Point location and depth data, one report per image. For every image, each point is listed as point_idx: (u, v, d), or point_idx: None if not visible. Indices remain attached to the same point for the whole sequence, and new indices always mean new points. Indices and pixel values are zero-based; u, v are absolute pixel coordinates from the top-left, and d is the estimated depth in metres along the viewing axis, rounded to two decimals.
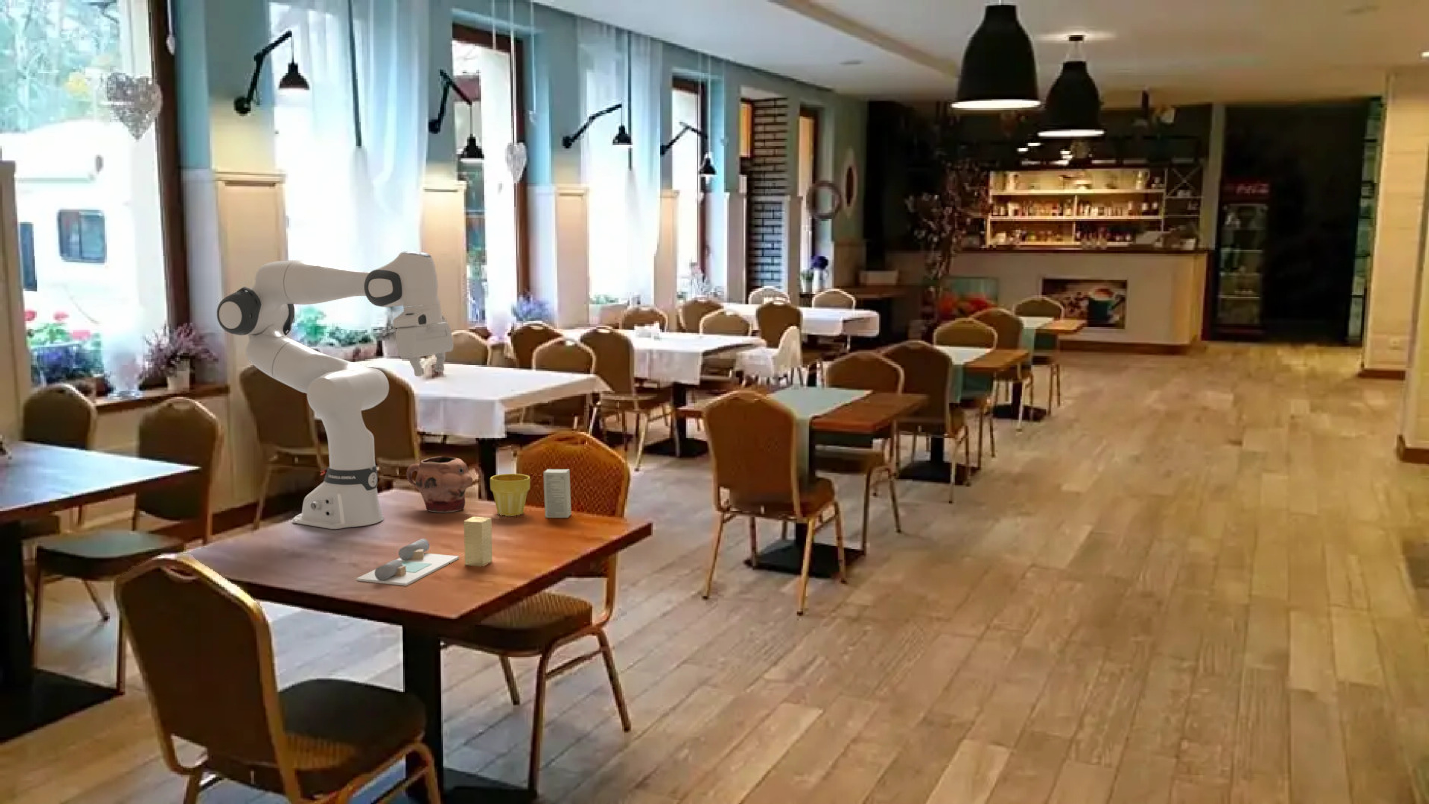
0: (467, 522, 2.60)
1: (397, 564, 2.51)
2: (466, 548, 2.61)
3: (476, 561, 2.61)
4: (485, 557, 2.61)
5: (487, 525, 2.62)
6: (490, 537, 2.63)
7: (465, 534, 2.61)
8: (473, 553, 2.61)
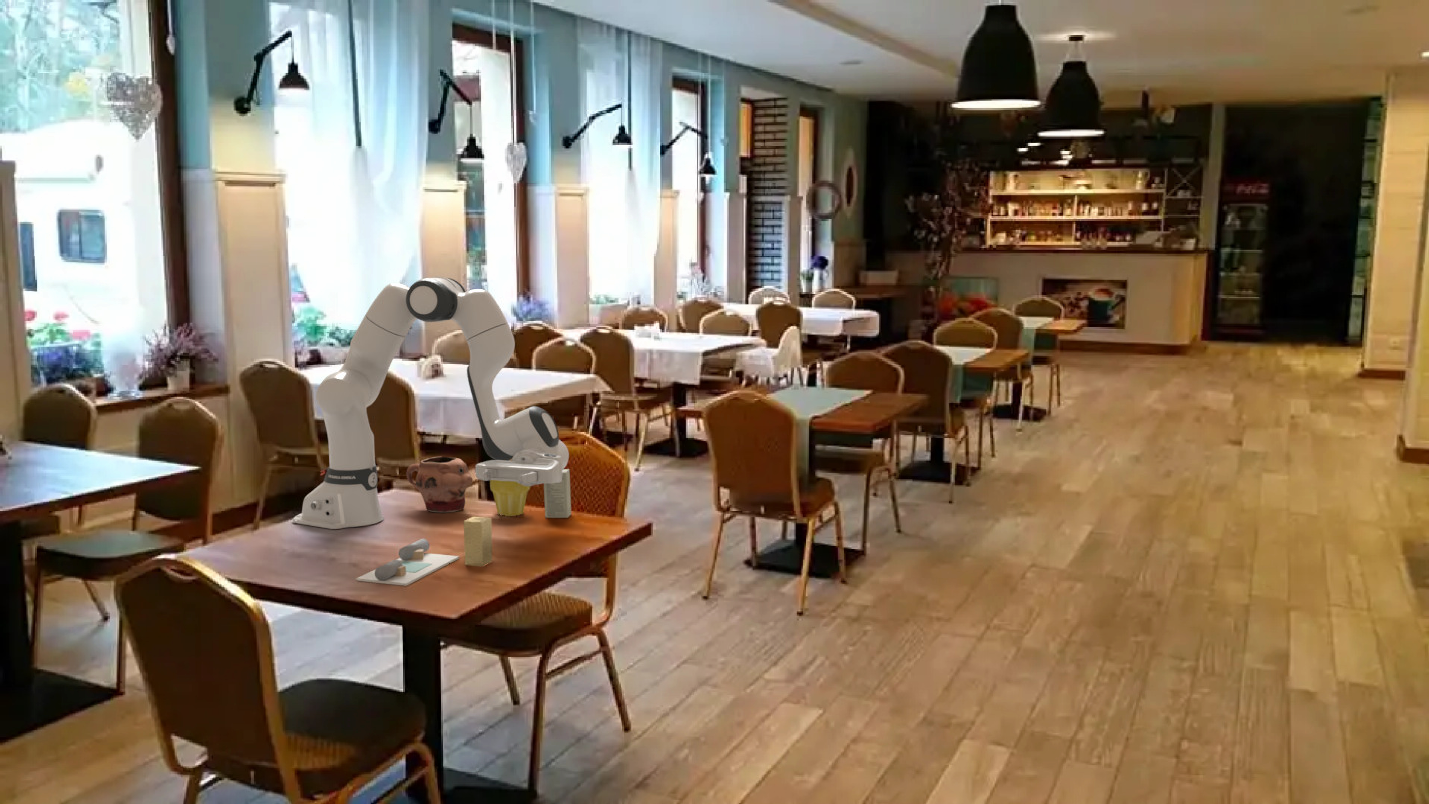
0: (467, 522, 2.60)
1: (397, 564, 2.51)
2: (466, 548, 2.61)
3: (476, 561, 2.61)
4: (485, 557, 2.61)
5: (487, 525, 2.62)
6: (490, 537, 2.63)
7: (465, 534, 2.61)
8: (473, 553, 2.61)
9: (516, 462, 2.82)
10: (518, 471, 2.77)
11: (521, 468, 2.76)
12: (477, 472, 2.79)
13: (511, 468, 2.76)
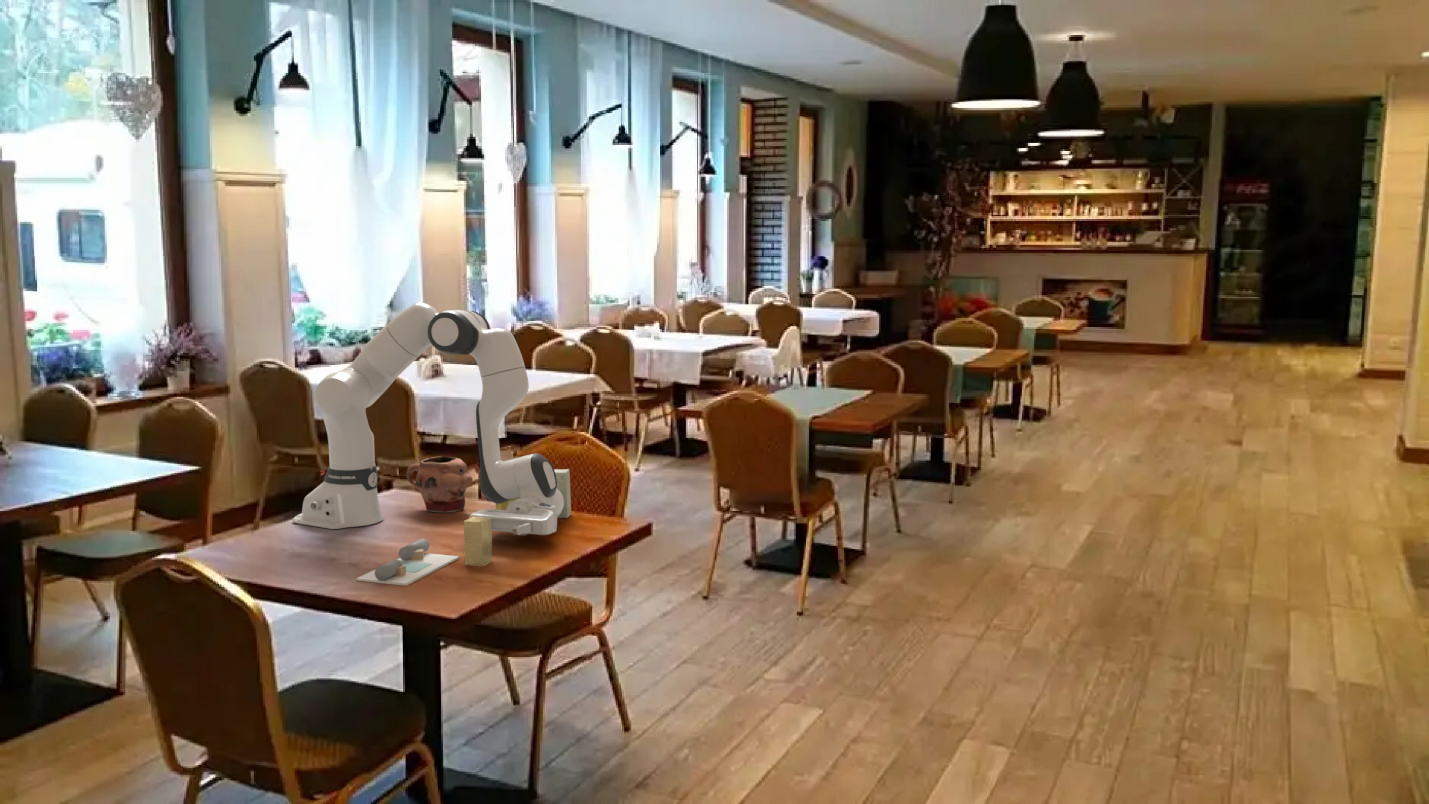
0: (467, 522, 2.60)
1: (397, 564, 2.51)
2: (466, 548, 2.61)
3: (476, 561, 2.61)
4: (485, 557, 2.61)
5: (487, 525, 2.62)
6: (490, 537, 2.63)
7: (465, 534, 2.61)
8: (473, 553, 2.61)
9: (511, 512, 2.81)
10: (512, 521, 2.75)
11: (516, 519, 2.74)
12: None
13: (505, 519, 2.75)
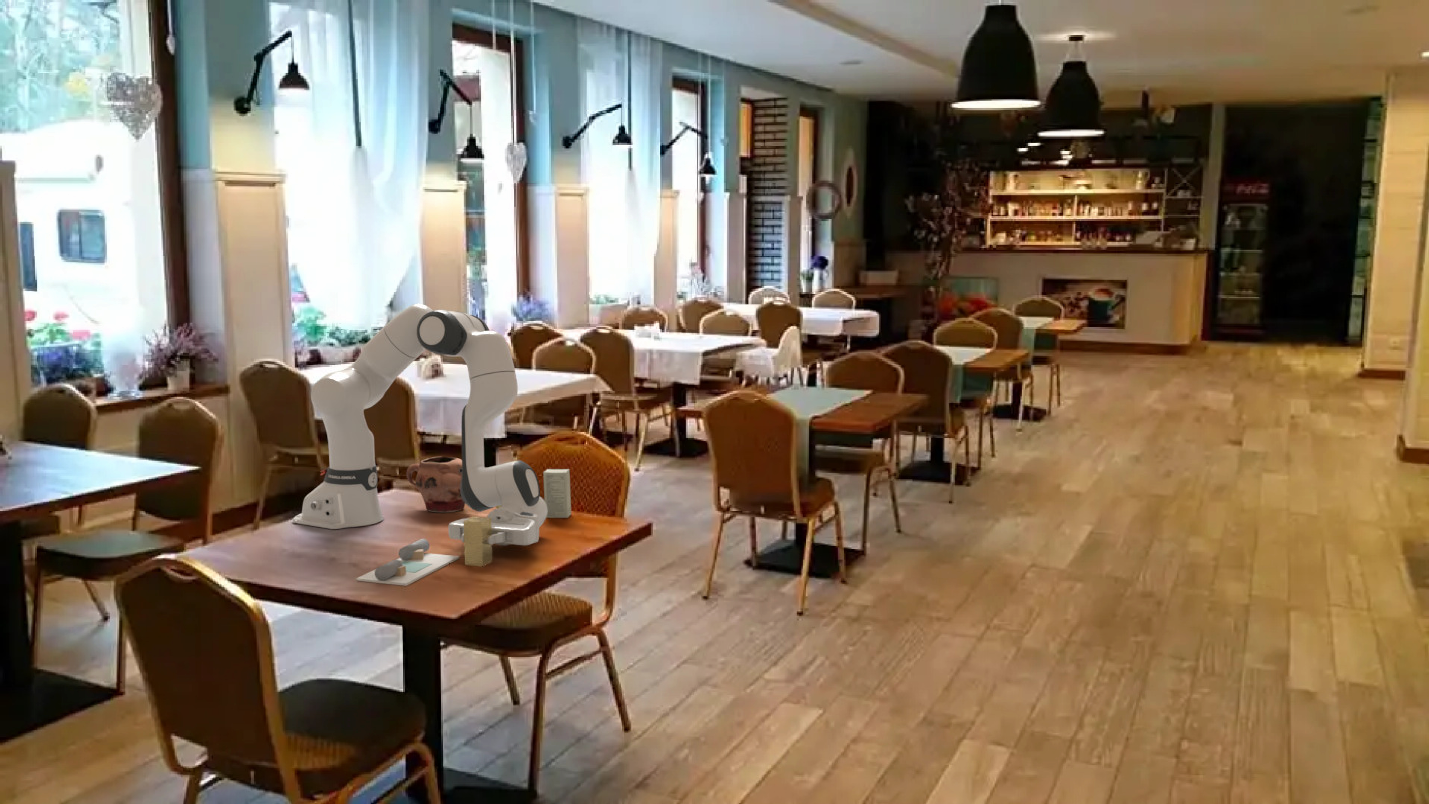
0: (467, 522, 2.60)
1: (397, 564, 2.51)
2: (466, 548, 2.61)
3: (476, 561, 2.61)
4: (485, 557, 2.61)
5: (487, 525, 2.62)
6: None
7: (465, 534, 2.61)
8: (473, 553, 2.61)
9: (491, 521, 2.71)
10: (492, 531, 2.66)
11: (496, 528, 2.65)
12: (451, 531, 2.69)
13: None
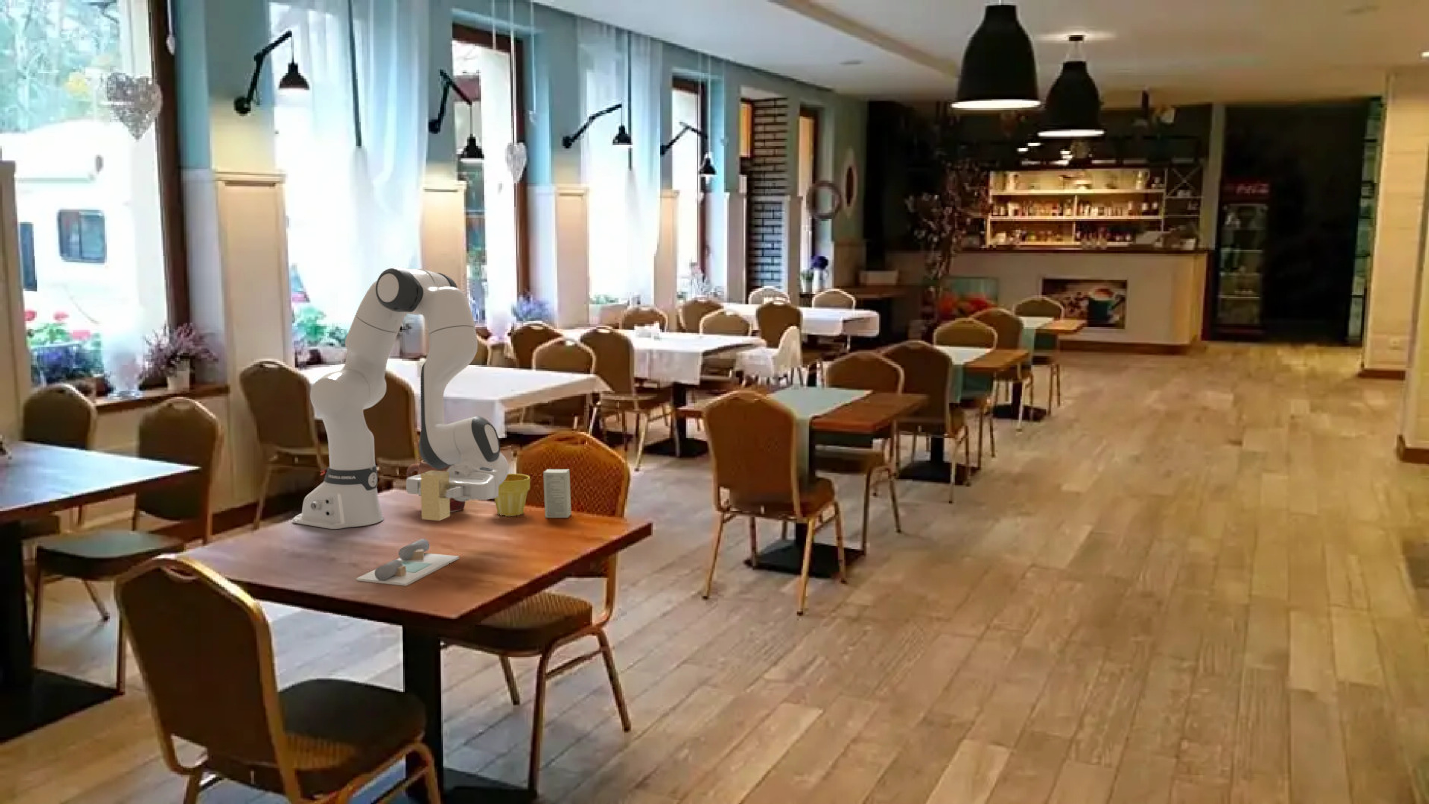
0: (424, 475, 2.56)
1: (397, 564, 2.51)
2: (423, 502, 2.57)
3: (433, 515, 2.56)
4: (442, 511, 2.57)
5: (444, 478, 2.57)
6: None
7: (422, 487, 2.56)
8: (430, 507, 2.56)
9: (450, 476, 2.67)
10: (450, 485, 2.62)
11: (453, 483, 2.61)
12: (408, 486, 2.64)
13: None
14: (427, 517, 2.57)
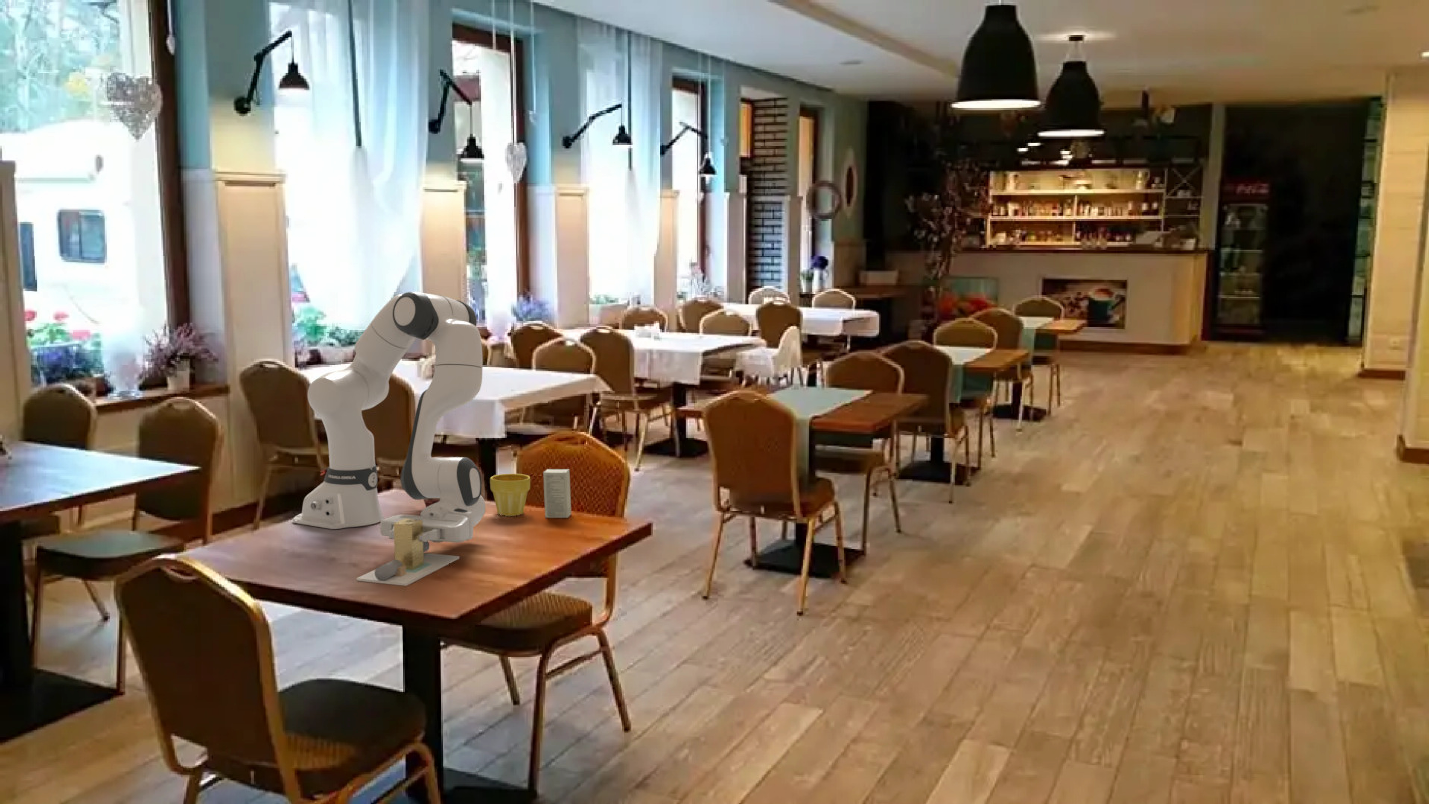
0: (397, 524, 2.55)
1: (397, 564, 2.51)
2: (396, 551, 2.56)
3: (406, 564, 2.56)
4: (415, 560, 2.56)
5: (417, 527, 2.56)
6: None
7: (395, 537, 2.56)
8: (403, 556, 2.56)
9: (424, 517, 2.66)
10: (424, 528, 2.61)
11: (427, 525, 2.60)
12: (382, 528, 2.63)
13: None
14: None
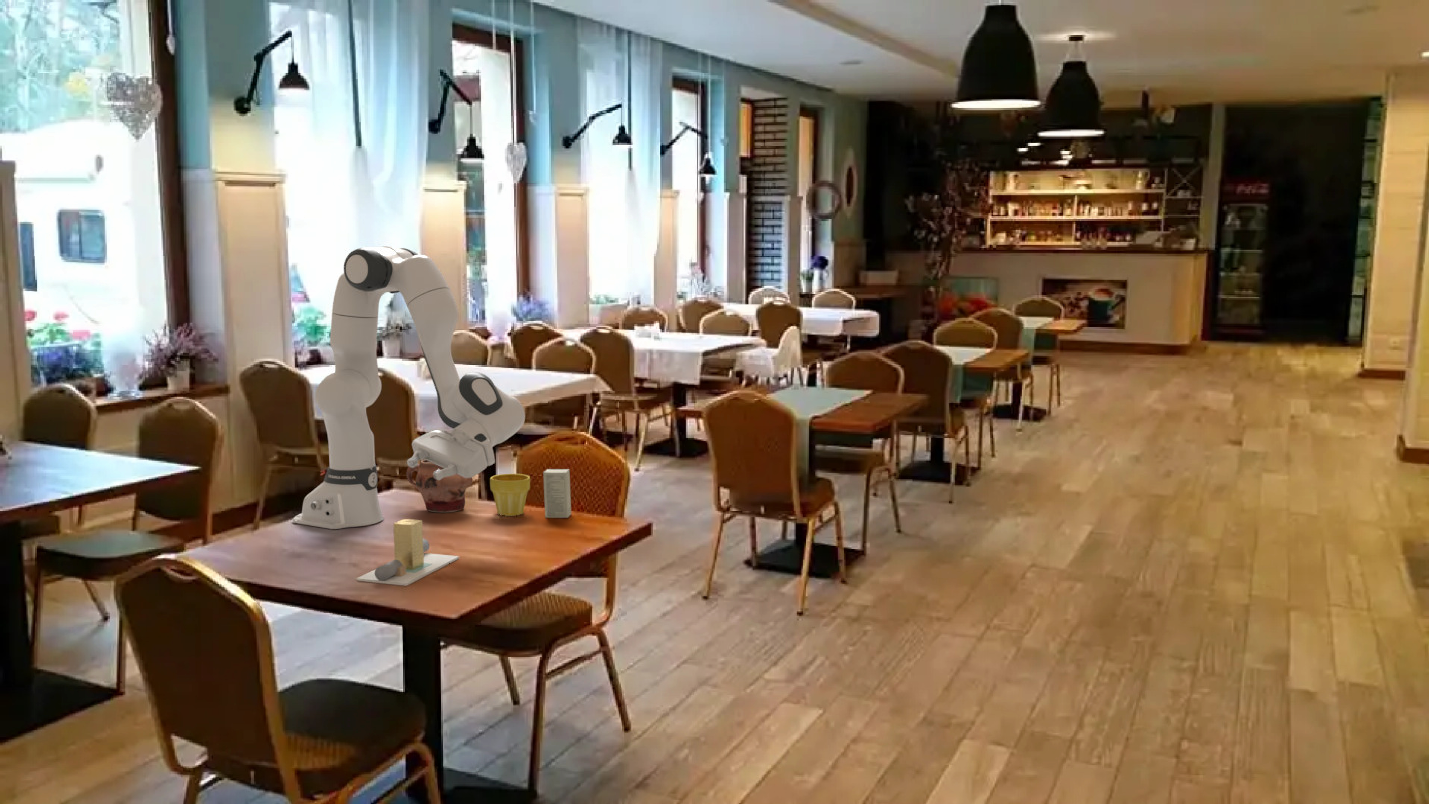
0: (397, 525, 2.55)
1: (397, 564, 2.51)
2: (396, 551, 2.56)
3: (406, 564, 2.56)
4: (415, 560, 2.56)
5: (417, 527, 2.57)
6: (421, 540, 2.58)
7: (395, 537, 2.56)
8: (403, 557, 2.56)
9: (450, 440, 2.74)
10: None
11: (443, 457, 2.68)
12: (413, 449, 2.75)
13: (436, 455, 2.69)
14: None
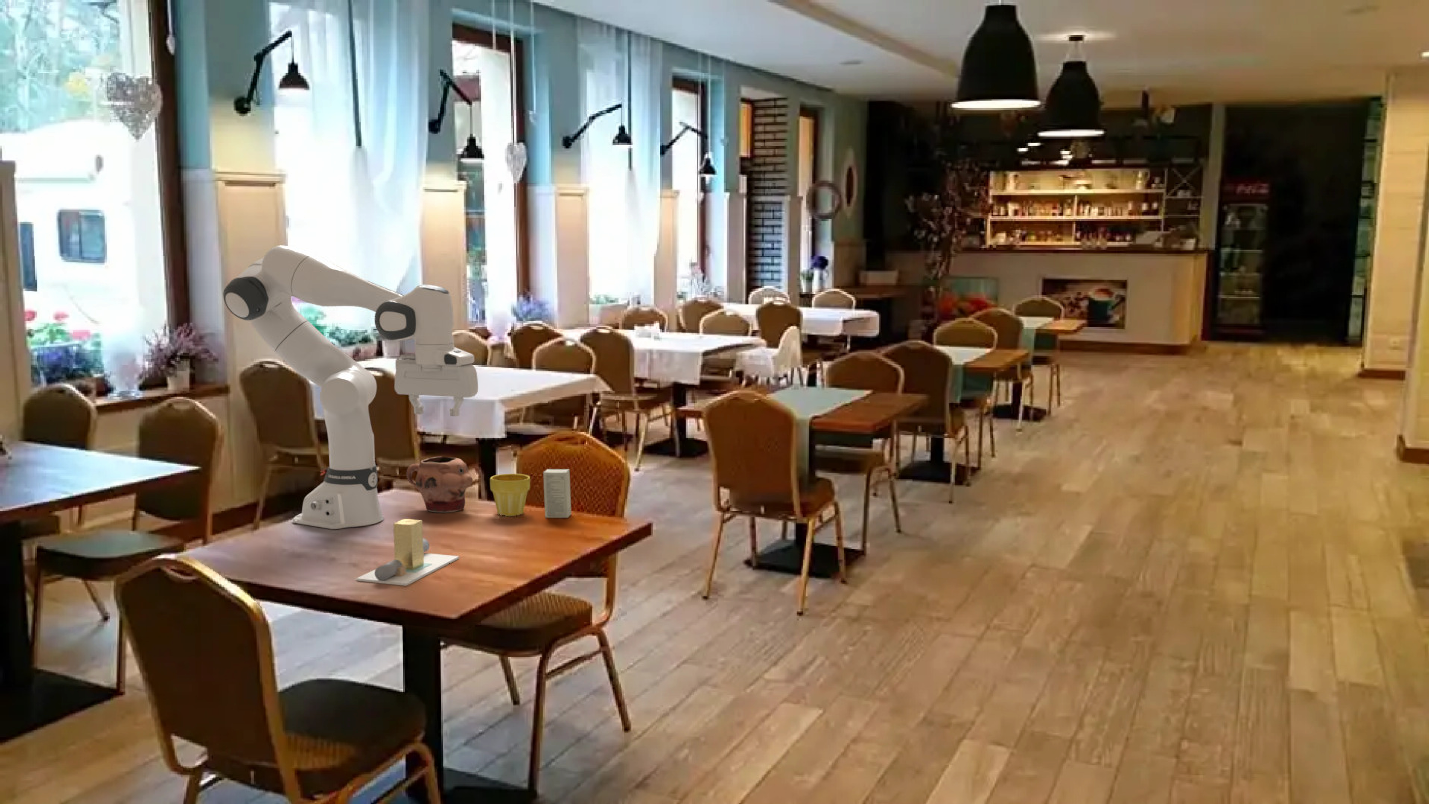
0: (397, 525, 2.55)
1: (397, 564, 2.51)
2: (396, 551, 2.56)
3: (406, 564, 2.56)
4: (415, 560, 2.56)
5: (417, 527, 2.57)
6: (421, 540, 2.58)
7: (395, 537, 2.56)
8: (403, 557, 2.56)
9: (425, 371, 2.71)
10: None
11: (441, 395, 2.71)
12: None
13: (432, 395, 2.72)
14: None
